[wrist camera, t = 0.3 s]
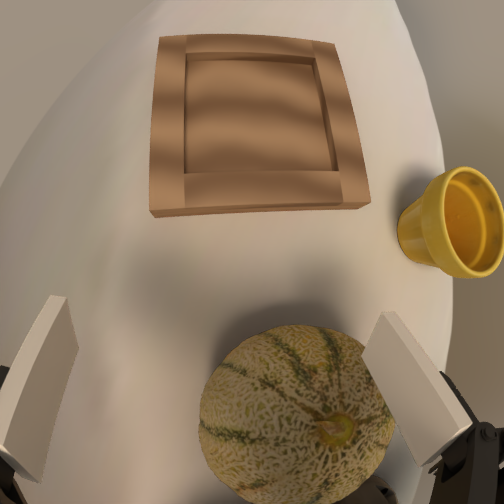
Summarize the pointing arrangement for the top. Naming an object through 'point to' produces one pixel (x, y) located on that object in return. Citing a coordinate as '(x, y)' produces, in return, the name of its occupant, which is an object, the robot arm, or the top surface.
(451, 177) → the plant pot
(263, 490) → the cantaloupe
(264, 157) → the walnut tray
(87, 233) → the top surface
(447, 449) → the robot arm
